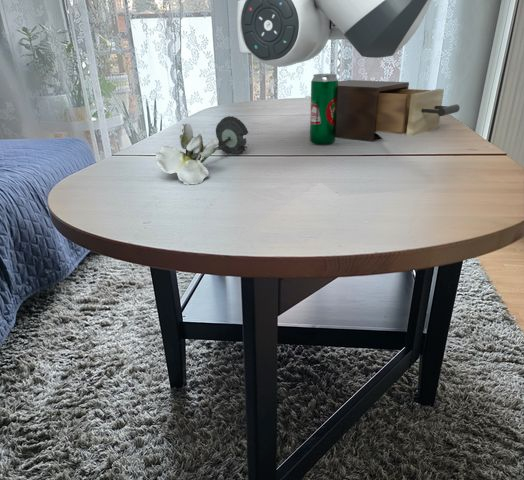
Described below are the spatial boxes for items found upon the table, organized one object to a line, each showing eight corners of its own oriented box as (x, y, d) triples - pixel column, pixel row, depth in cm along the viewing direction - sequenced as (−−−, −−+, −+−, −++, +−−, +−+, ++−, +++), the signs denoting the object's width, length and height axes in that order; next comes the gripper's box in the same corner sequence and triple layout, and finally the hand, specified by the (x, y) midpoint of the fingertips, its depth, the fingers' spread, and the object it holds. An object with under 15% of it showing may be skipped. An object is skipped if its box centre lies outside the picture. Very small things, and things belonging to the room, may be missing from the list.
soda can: (306, 141, 102) (307, 74, 96) (330, 140, 103) (333, 73, 96) (314, 146, 98) (316, 75, 91) (339, 144, 99) (342, 74, 92)
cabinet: (403, 132, 108) (409, 82, 103) (372, 141, 100) (377, 87, 95) (345, 127, 117) (348, 79, 112) (313, 134, 109) (314, 84, 104)
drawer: (460, 134, 100) (467, 90, 96) (434, 142, 93) (441, 95, 89) (379, 126, 111) (383, 86, 106) (350, 133, 103) (353, 91, 99)
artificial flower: (258, 163, 92) (268, 106, 85) (191, 211, 77) (196, 147, 70) (216, 146, 94) (222, 89, 87) (142, 190, 78) (142, 125, 71)
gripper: (377, -7, 65) (384, -3, 76) (226, 0, 70) (254, 4, 81) (373, 50, 68) (380, 46, 79) (229, 53, 73) (255, 50, 84)
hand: (315, 25), depth 80 cm, fingers open, 8 cm apart
